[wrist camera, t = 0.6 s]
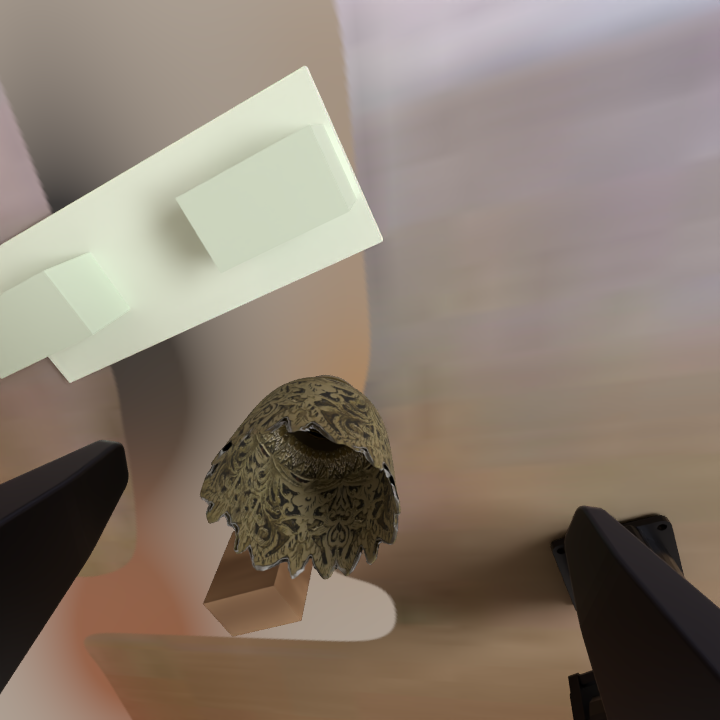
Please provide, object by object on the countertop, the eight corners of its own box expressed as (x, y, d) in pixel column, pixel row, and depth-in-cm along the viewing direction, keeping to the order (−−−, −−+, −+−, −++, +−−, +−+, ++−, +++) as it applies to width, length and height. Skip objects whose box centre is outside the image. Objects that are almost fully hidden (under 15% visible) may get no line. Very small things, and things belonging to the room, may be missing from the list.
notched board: (382, 238, 20) (379, 259, 17) (77, 377, 25) (28, 415, 21) (307, 67, 17) (286, 53, 14) (-20, 259, 22) (-92, 282, 19)
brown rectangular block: (316, 545, 29) (301, 620, 25) (257, 561, 30) (232, 636, 26) (294, 512, 28) (273, 585, 24) (233, 531, 29) (203, 604, 25)
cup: (233, 363, 23) (161, 466, 16) (366, 314, 22) (349, 406, 15) (298, 470, 26) (260, 597, 19) (419, 435, 25) (427, 561, 17)
